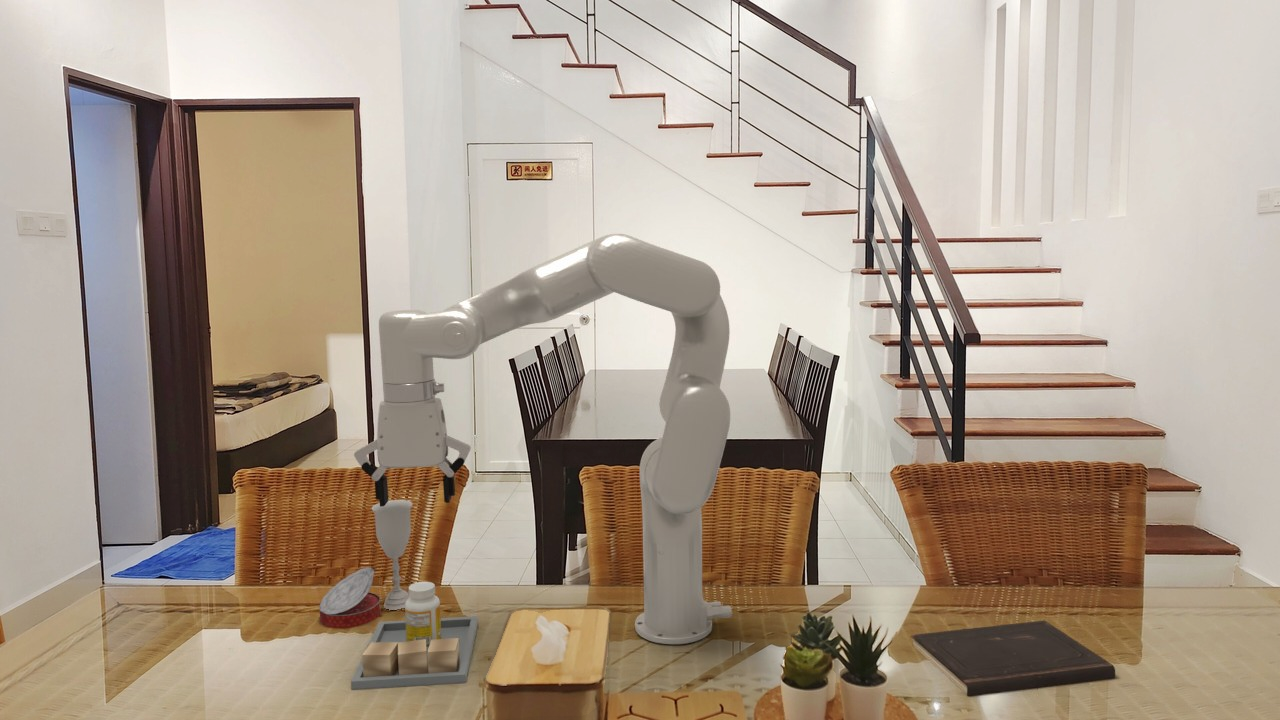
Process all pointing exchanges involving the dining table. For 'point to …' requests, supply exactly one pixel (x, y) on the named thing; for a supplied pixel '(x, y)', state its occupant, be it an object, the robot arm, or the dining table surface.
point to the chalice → (394, 543)
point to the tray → (449, 629)
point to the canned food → (350, 601)
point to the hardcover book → (1011, 657)
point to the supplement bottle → (422, 613)
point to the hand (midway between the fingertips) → (416, 502)
